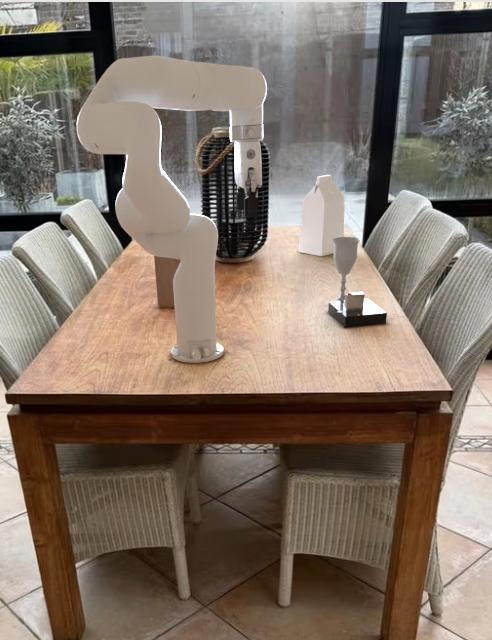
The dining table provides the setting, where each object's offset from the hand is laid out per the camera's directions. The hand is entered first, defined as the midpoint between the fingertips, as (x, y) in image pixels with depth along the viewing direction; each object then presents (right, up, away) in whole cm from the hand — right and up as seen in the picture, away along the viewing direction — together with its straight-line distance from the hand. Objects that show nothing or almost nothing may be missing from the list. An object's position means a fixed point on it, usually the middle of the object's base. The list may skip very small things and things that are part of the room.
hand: (247, 212), depth 159 cm
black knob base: (+30, -22, +15) cm, 41 cm away
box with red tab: (+29, -21, +11) cm, 37 cm away
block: (-18, -13, +35) cm, 42 cm away
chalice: (+29, -16, +25) cm, 42 cm away
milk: (+35, +19, +86) cm, 95 cm away
